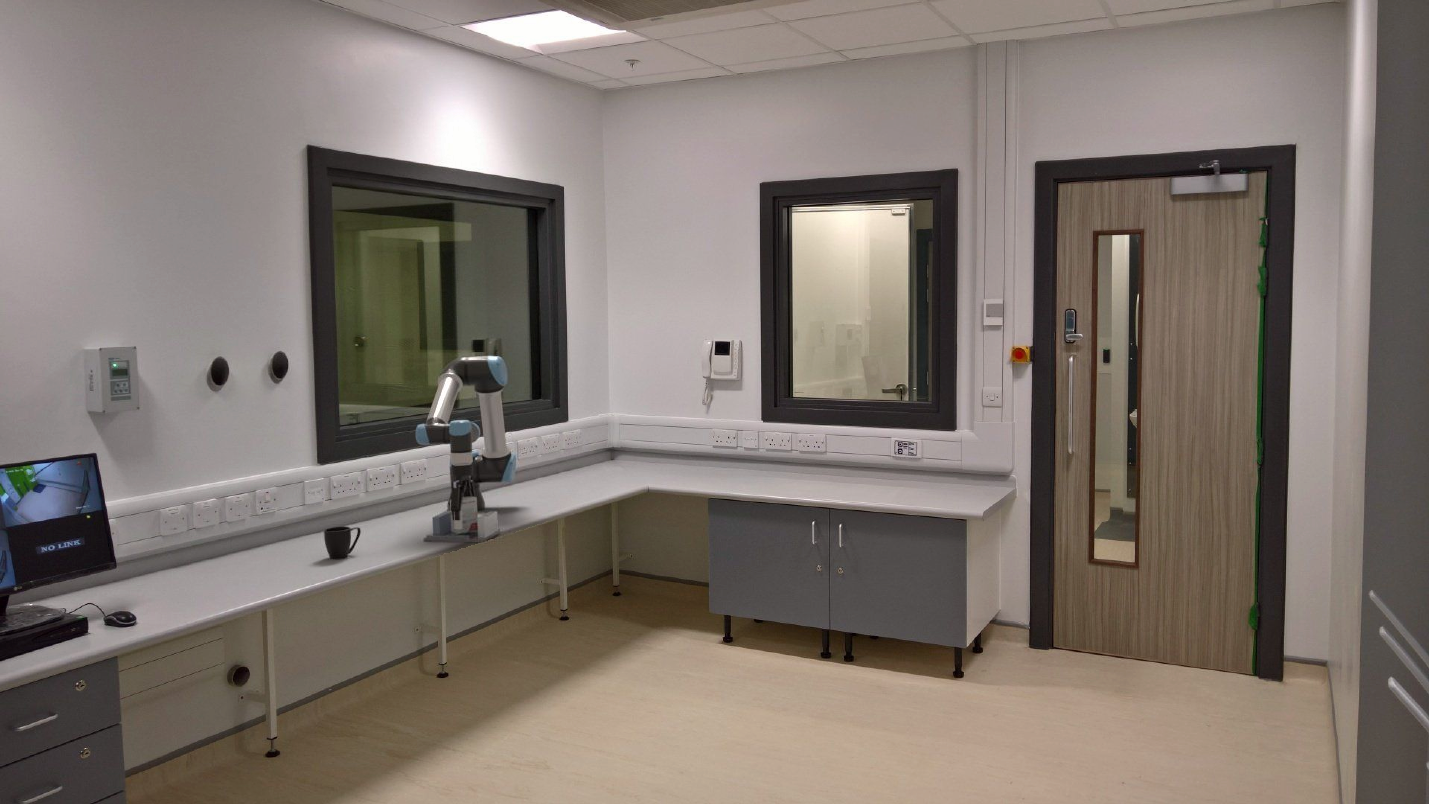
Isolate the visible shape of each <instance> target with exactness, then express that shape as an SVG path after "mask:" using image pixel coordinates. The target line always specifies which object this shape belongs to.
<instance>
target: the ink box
mask: <svg viewBox="0 0 1429 804" xmlns="http://www.w3.org/2000/svg"><path fill="white" fill-rule="evenodd" d="M461 511H462V521H463V529H455V524H454V511H451V500H450V513H451V532H455V533H463V532H467V531H471V530H476V529H478V521H477V518H478V516H479V515H478V510H477V497H471V496H468V497H463V499H462V505H461Z"/></svg>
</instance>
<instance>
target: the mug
mask: <svg viewBox="0 0 1429 804" xmlns="http://www.w3.org/2000/svg"><path fill="white" fill-rule="evenodd" d="M353 530H356V531H357V533H356V536H355V539H354V541H353V543H352V545H351V542H352V531H353ZM360 535H361V528H360V527H359V526H358V527H357V526H356V527H349V526H333V527H328V528H325V529H324V530H323V538H324V540H323V541H324V545H325V548H326V552H327V555H328V557H329V559H331V560H342V559H346V558H348V556H349V555H350V554H351V553H352V552H353V550H354V549H355V547H356V545H357V543H358V541H359V538H360Z"/></svg>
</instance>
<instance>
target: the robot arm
mask: <svg viewBox="0 0 1429 804" xmlns="http://www.w3.org/2000/svg"><path fill="white" fill-rule="evenodd" d="M508 379H509V378H508V370H507V366H506V363H505V360H504V359H503V358H502V357H501V356H498V355H497V356H496V355H481V356H480V355H479V356H461V357H457V358H456V359H454V360H452V361H450V363H448V364H447V365H446V366H445V367H444V368H443V369H442V370H441V372H440V374H439V376H438V379H437V390H436V393H435V396H434V399H433V401H432V404H431V408H430V410H429V413H428V416H427V419H426V421H425V423H422V424H417V426H416V428H415V440H416V443H417V444H419V445H422V446H425V445H427V446H431V445H433V446H434V445H449V446H450V447H449V448H450V450H449V451H450V455H449V457H450V458H449V466H448V467H449V478H450V481H449V482H450V494H449V497H448V500H447V505H446V509H447V510H446V511H450V500H451V511H454V524H455V529H463V521H462V511H461V505H462V499H463V497H468V496H471V497H477V511H481V510H484V509H485V508H486V501H485V499H484V496H483V494H482V490H481V484H505V483H511V482H512V481H513V480H514V477H515V474H516V467H517V456H516V454H514V453H512V450H511V448H510V447H508V446H507V439H506V438H507V437H506V429H505V421H504V420H505V419H504V411H503V402H502V392H503V390H504V389H505V386H506V385H507V384H508ZM463 387H473V389H474V390H473V391H474V392H475V393H476V394H478V399H479V406H480V415H481V423H482V424H481V425H482V432H483V433H482V435H483V442H484V449H483V450H482V451H481V454H480V453H479V451H476V450H475V451H474V450H473V443H475V442H477V440H478V439H479V438H480V435H481V429H480V427H479V426H478V425H477V424H476V423H475V422H472V421H470V420H468V419H457V420H452V421H450V422H449V420H450V417H451V415H452V414H451V413H452V411H453V408H454V405H455V402H456V399H457V396H458V394H459V393H458V392H460V391H461V390H462V389H463Z"/></svg>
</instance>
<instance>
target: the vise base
mask: <svg viewBox="0 0 1429 804" xmlns="http://www.w3.org/2000/svg"><path fill="white" fill-rule="evenodd" d="M477 521H478V529H476V530H471V531H467V532H463V533H455V532H451V531H450V532H448V533H446V534H444V535H433V533H431V534H426V535H425V537H423V539H422V540H423V542H425V543H426V542H433V543H438V542H439V543H441V542H442V543H484V542H486V541H488V540H490V539H492V538H493V537H495V536H497V535H498V534H500V533H501V529H500V528H499V526H498V525H499V523H498V511H491V510H490V511H489V512H486V513H484V514H482V515H481V516H479V517H478V518H477Z"/></svg>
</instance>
